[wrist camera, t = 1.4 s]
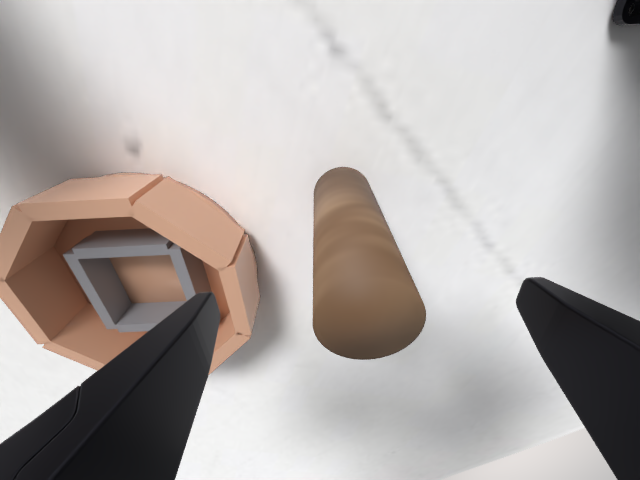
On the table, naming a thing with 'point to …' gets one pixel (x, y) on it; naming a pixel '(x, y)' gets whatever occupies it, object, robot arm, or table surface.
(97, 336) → the tan polygonal bowl
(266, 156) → the table surface
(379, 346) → the wooden dowel rod
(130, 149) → the table surface
